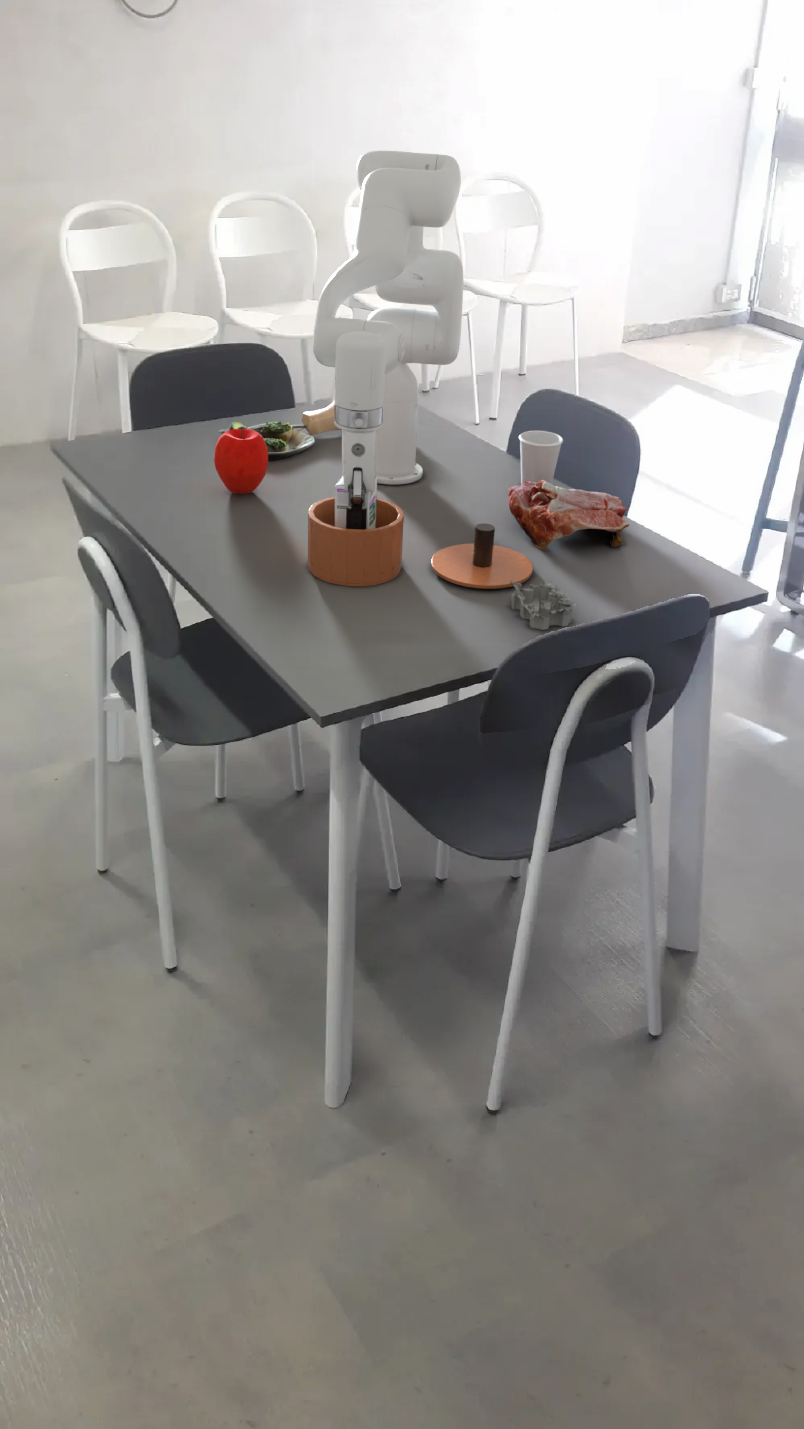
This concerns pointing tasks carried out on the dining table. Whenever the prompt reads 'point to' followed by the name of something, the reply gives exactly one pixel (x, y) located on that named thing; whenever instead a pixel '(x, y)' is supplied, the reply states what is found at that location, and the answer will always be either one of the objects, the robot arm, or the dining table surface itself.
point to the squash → (320, 420)
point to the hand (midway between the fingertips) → (355, 522)
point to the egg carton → (542, 605)
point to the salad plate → (279, 438)
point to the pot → (355, 546)
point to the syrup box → (342, 504)
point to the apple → (241, 460)
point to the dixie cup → (539, 455)
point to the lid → (482, 562)
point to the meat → (564, 512)
